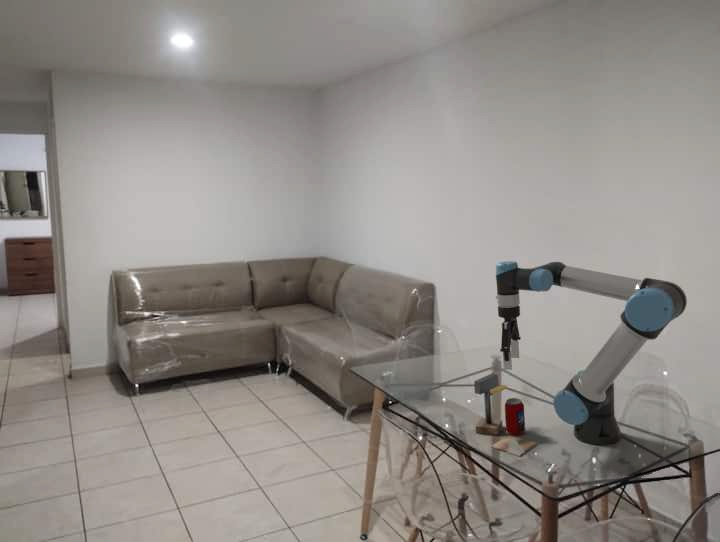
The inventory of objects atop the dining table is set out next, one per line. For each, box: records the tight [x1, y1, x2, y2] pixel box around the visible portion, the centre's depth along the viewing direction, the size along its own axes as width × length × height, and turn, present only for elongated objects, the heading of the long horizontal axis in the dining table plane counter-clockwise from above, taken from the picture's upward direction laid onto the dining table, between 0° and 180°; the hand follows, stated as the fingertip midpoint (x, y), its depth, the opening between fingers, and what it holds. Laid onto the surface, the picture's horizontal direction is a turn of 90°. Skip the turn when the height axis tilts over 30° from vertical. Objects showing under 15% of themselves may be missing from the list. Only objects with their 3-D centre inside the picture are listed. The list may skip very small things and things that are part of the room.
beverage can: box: [504, 397, 526, 436], centre depth 210 cm, size 7×7×12 cm
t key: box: [473, 372, 508, 424], centre depth 215 cm, size 16×2×17 cm, turn 131°
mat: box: [491, 434, 538, 453], centre depth 200 cm, size 11×11×1 cm
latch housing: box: [475, 417, 503, 436], centre depth 215 cm, size 8×8×2 cm
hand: (511, 363), depth 207 cm, fingers open, 13 cm apart
